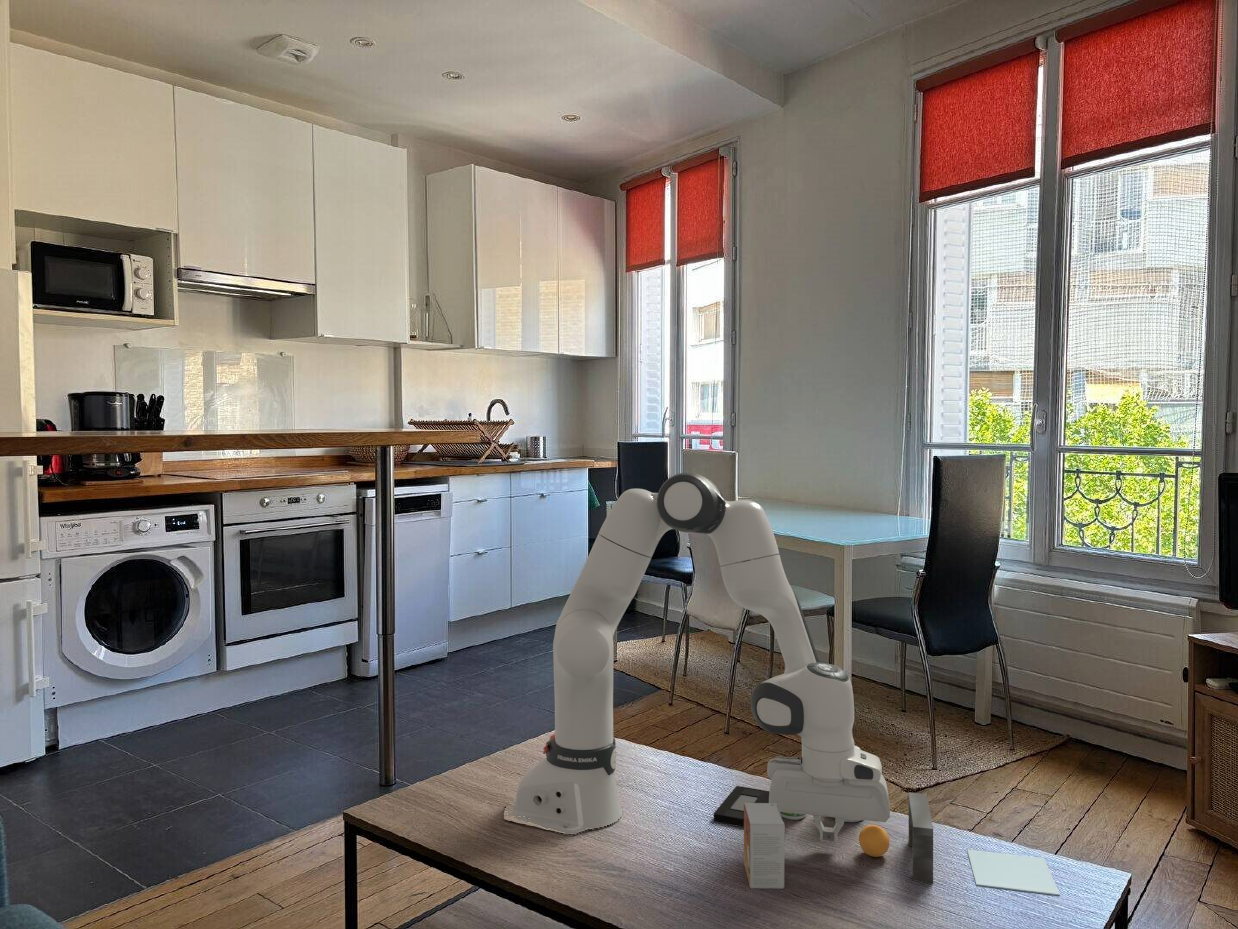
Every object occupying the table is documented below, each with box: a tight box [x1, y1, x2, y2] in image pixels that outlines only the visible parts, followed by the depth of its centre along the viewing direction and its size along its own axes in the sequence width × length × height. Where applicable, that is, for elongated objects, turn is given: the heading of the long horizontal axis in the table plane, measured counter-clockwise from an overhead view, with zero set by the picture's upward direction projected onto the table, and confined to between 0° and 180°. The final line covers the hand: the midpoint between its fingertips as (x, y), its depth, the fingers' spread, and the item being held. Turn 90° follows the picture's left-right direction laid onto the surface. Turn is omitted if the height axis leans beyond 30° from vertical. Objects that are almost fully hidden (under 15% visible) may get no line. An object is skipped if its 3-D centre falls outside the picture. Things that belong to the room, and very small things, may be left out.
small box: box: [743, 803, 786, 890], centre depth 138 cm, size 8×6×10 cm
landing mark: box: [966, 848, 1061, 897], centre depth 139 cm, size 12×12×1 cm
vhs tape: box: [713, 785, 770, 828], centre depth 164 cm, size 8×14×2 cm, turn 155°
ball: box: [858, 824, 890, 858], centre depth 145 cm, size 5×5×5 cm
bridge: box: [908, 792, 934, 884], centre depth 143 cm, size 3×14×9 cm, turn 164°
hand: (828, 840), depth 147 cm, fingers closed
